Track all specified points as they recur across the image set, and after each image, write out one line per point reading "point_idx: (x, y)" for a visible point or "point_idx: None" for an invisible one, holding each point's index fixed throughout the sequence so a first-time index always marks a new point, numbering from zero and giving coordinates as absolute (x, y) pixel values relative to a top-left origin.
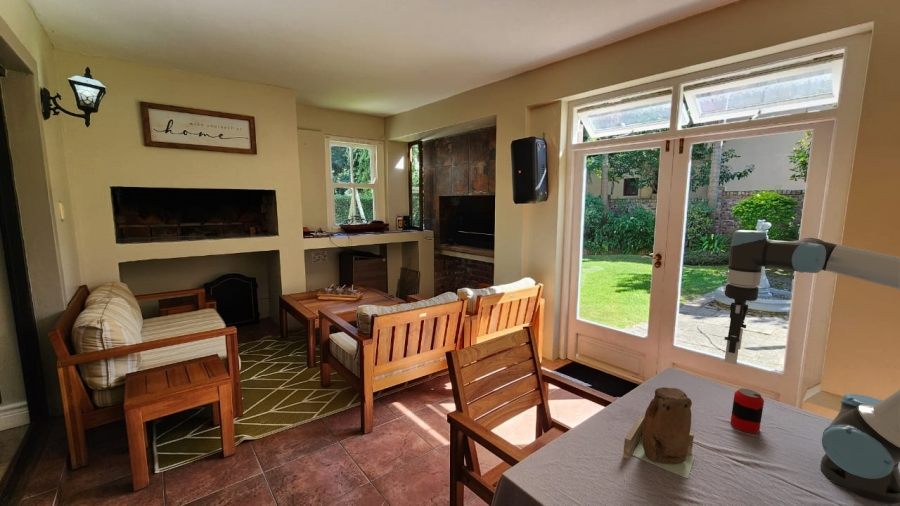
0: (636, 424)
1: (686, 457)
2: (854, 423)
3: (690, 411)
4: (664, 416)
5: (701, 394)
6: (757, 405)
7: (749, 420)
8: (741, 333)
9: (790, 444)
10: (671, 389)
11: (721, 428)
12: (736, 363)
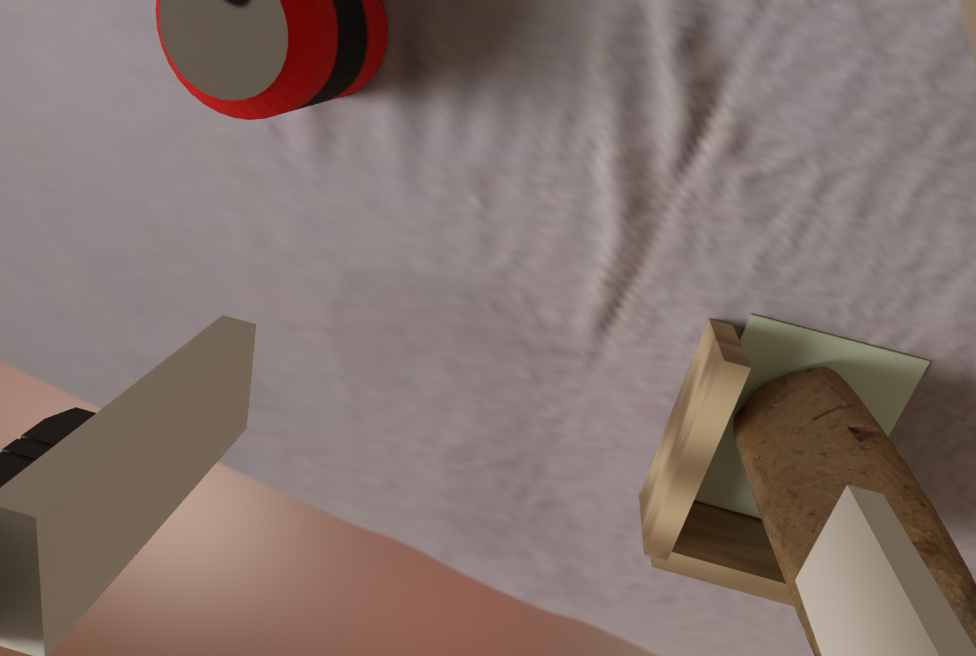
0: (745, 583)
1: (770, 347)
2: None
3: (940, 534)
4: None
5: (86, 197)
6: None
7: (366, 25)
8: (101, 466)
9: None
10: None
11: (413, 153)
12: (858, 490)
